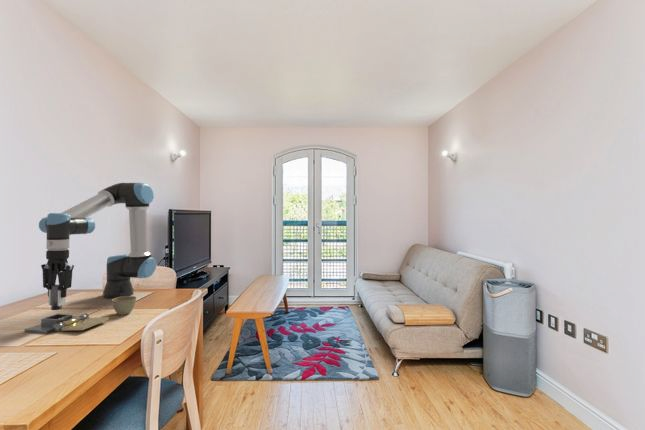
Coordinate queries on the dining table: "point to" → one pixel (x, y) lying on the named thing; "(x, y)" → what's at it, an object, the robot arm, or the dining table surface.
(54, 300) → the pin
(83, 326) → the brass leaf
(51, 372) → the dining table surface
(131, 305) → the flower pot
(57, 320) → the hinge base
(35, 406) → the dining table surface
